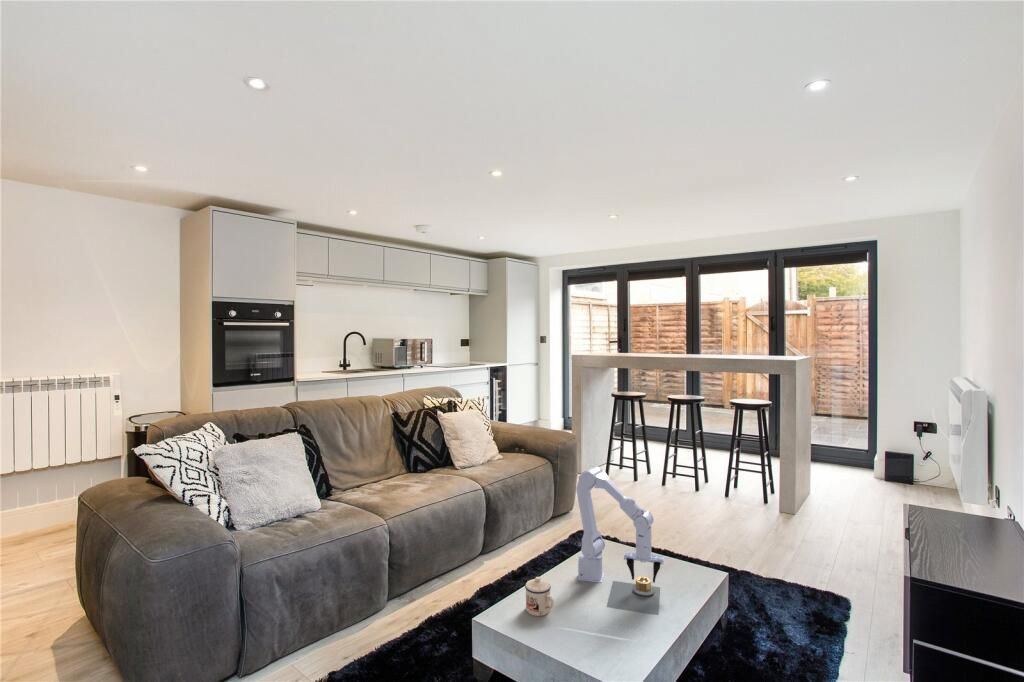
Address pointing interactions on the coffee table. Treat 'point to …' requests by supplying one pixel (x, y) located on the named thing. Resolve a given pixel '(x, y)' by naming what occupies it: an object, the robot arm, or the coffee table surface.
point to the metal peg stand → (643, 594)
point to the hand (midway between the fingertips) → (643, 579)
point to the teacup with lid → (538, 597)
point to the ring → (643, 584)
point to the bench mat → (633, 599)
